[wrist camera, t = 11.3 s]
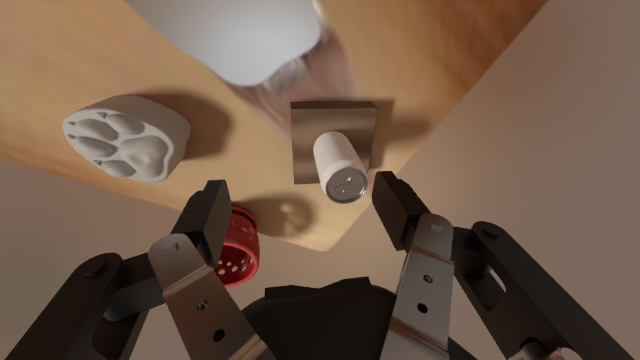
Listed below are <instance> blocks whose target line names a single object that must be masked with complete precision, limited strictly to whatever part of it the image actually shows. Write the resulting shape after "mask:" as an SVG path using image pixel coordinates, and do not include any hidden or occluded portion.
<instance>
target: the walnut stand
mask: <svg viewBox="0 0 640 360" xmlns="http://www.w3.org/2000/svg"><path fill="white" fill-rule="evenodd" d="M290 104H291V126H292V149H293V171H294V184H313V183H320V179H319V175H318V171H317V166H316V162H315V158H314V153H313V147H314V144H315V141H316V140H317V139H318V137H320V136H321V135H322V134H324V133H326V132H330V131H336V132H340V133H342V134H343V135H345V136H346V137H347V139H348V140H349V142H350V143H351V145H352V147H353V148H354V150H355V152H356V153H357V155H358V157H359V159H360V160H361V162H362V164H363V166H364V168H365V170H366V172H367V174H368V168H369V162H370V155H371V149H372V143H373V137H374V130H375V124H376V118H377V112H378V108H377V107H376V106H375V105H374V104H372V103H371V102H302V103H290Z"/></svg>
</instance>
